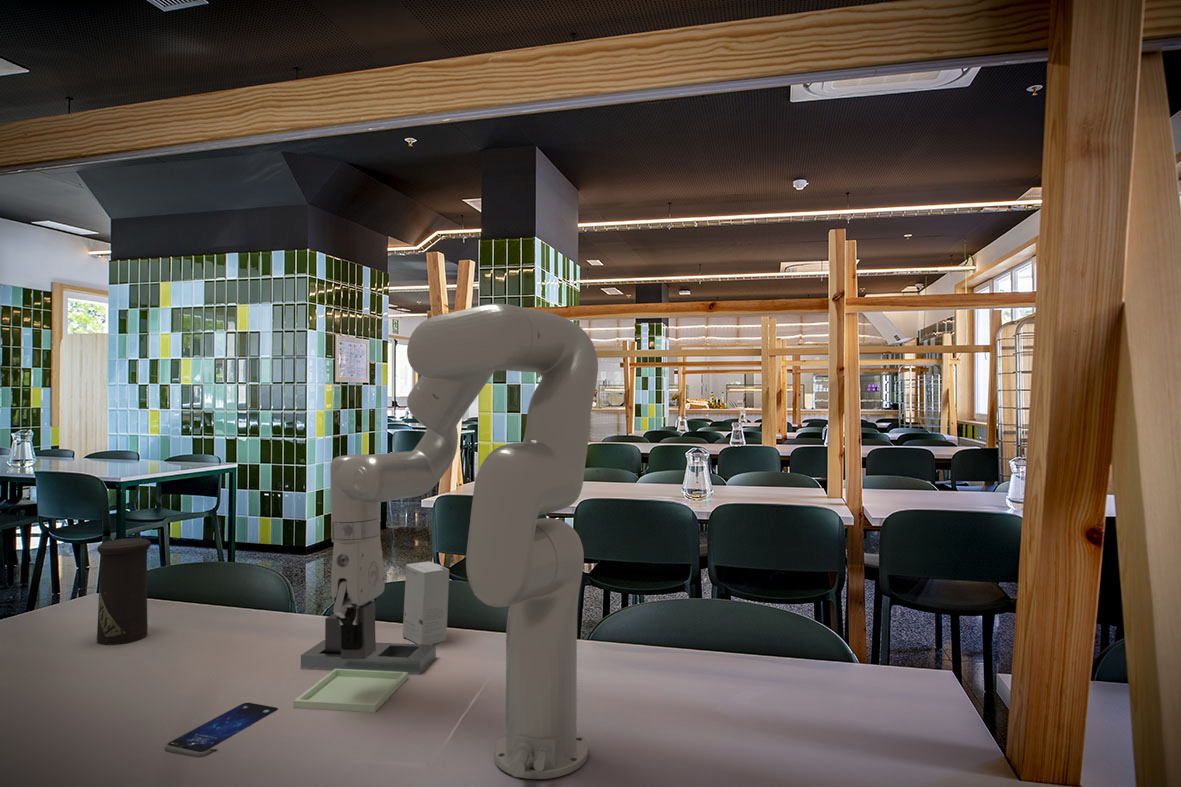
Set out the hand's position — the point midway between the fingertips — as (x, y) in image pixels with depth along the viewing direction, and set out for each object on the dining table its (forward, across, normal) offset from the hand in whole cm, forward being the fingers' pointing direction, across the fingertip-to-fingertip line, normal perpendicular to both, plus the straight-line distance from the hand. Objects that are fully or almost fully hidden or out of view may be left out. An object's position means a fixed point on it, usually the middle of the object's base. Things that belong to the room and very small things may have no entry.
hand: (358, 643), depth 111 cm
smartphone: (+9, -13, +14) cm, 21 cm away
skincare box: (+8, +28, -1) cm, 29 cm away
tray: (+8, +1, +1) cm, 9 cm away
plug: (+2, 0, 0) cm, 2 cm away
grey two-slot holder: (+8, +13, +4) cm, 16 cm away
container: (+6, +21, +60) cm, 64 cm away
